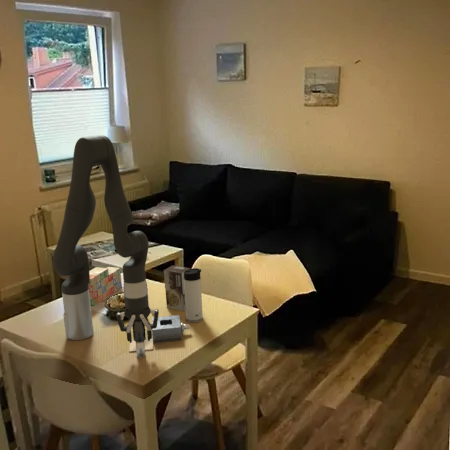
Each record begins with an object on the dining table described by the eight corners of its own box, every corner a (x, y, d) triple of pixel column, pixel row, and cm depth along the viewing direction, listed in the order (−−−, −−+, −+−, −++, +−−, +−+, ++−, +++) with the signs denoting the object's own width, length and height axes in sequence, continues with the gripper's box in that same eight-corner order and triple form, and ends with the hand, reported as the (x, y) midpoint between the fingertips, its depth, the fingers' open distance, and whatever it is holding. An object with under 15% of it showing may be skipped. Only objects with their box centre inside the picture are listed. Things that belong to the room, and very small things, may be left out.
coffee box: (193, 305, 214) (191, 268, 210) (184, 311, 209) (181, 273, 205) (175, 301, 219) (173, 264, 215) (165, 307, 214) (163, 269, 210)
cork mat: (129, 352, 179) (129, 351, 179) (129, 341, 187) (129, 340, 187) (153, 349, 180) (153, 348, 180) (152, 339, 188) (152, 338, 188)
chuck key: (134, 359, 175) (131, 322, 171) (135, 353, 179) (132, 317, 175) (147, 357, 175) (144, 321, 172) (147, 352, 179) (144, 316, 176)
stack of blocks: (110, 286, 239) (107, 260, 236) (122, 287, 237) (119, 261, 234) (81, 304, 220) (78, 276, 217) (94, 306, 218) (91, 278, 214)
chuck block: (153, 343, 185) (152, 329, 184) (152, 330, 195) (151, 317, 193) (190, 339, 187) (190, 326, 185) (188, 326, 196) (188, 314, 195)
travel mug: (201, 323, 199) (198, 272, 194) (184, 322, 200) (181, 272, 195) (205, 316, 205) (202, 267, 199) (188, 315, 206) (185, 266, 201)
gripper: (112, 299, 167) (117, 348, 171) (158, 295, 168) (162, 344, 173) (113, 290, 174) (118, 337, 178) (158, 286, 176) (161, 333, 180)
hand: (139, 340), depth 176 cm, fingers open, 5 cm apart
